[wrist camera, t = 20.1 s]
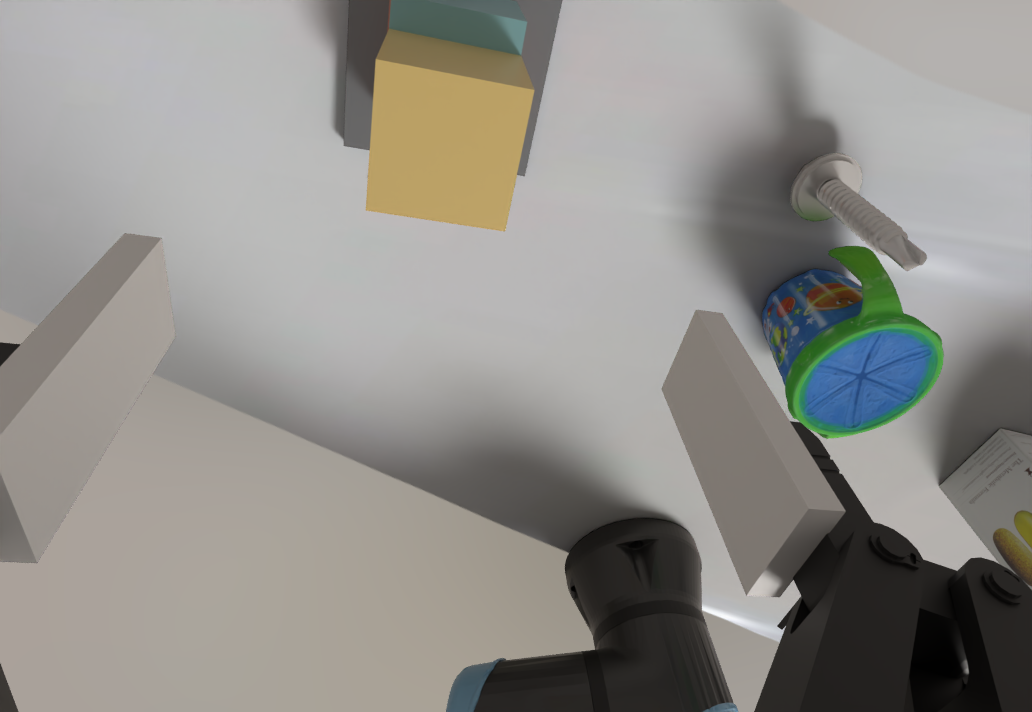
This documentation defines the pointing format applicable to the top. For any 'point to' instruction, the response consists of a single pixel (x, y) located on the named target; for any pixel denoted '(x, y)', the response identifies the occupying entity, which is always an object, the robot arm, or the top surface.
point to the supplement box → (998, 498)
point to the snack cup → (849, 347)
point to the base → (367, 38)
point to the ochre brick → (446, 130)
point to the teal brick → (463, 22)
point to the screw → (850, 207)
